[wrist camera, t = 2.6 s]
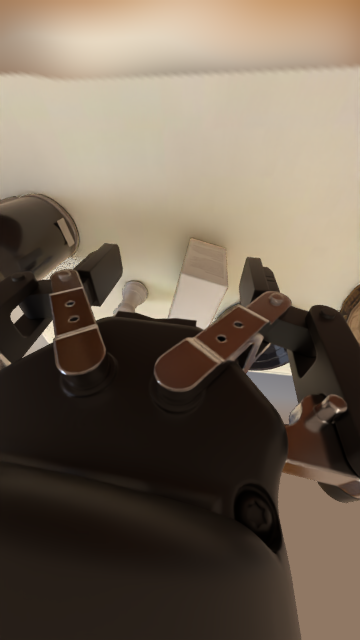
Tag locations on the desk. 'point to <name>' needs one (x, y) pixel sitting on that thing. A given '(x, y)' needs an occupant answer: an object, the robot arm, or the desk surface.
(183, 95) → the desk surface
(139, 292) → the rook chess piece
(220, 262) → the small box
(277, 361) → the pan
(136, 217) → the desk surface
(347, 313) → the wood slice
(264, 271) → the robot arm
